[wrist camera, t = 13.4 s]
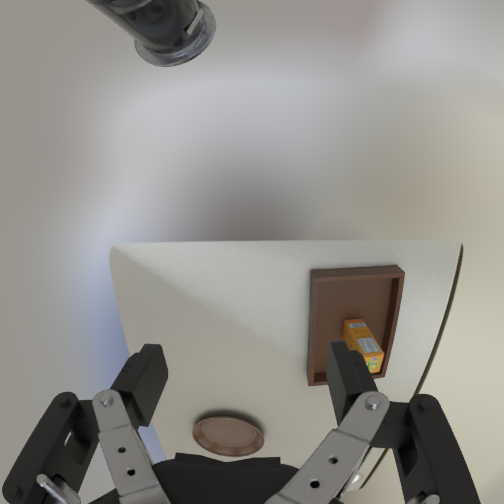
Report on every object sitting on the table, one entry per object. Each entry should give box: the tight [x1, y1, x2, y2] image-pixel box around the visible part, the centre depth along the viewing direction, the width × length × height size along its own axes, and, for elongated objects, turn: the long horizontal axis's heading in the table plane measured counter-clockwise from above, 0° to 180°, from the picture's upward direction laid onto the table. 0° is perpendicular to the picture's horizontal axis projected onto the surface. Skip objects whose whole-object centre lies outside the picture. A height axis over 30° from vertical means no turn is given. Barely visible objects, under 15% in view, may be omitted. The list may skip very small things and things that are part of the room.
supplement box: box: [342, 319, 384, 373], centre depth 38 cm, size 3×3×10 cm
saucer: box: [192, 415, 264, 457], centre depth 51 cm, size 15×15×3 cm
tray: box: [307, 265, 405, 386], centre depth 42 cm, size 20×14×3 cm
